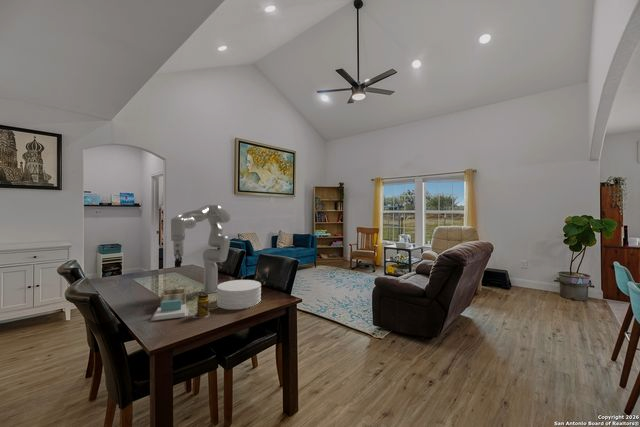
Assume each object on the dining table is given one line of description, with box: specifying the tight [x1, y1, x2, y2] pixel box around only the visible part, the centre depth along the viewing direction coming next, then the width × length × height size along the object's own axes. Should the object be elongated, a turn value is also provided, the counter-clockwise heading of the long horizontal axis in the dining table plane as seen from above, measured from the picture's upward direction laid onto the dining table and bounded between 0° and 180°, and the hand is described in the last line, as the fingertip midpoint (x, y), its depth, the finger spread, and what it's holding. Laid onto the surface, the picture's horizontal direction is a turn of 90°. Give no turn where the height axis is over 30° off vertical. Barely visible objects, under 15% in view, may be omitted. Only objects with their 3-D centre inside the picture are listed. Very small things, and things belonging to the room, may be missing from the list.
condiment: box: [191, 293, 211, 319], centre depth 157 cm, size 7×8×12 cm
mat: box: [150, 307, 190, 322], centre depth 157 cm, size 18×13×1 cm
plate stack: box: [216, 279, 262, 310], centre depth 181 cm, size 28×28×12 cm
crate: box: [159, 287, 187, 307], centre depth 171 cm, size 13×13×9 cm
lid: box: [153, 299, 187, 321], centre depth 157 cm, size 15×15×7 cm
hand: (178, 265), depth 169 cm, fingers open, 9 cm apart
